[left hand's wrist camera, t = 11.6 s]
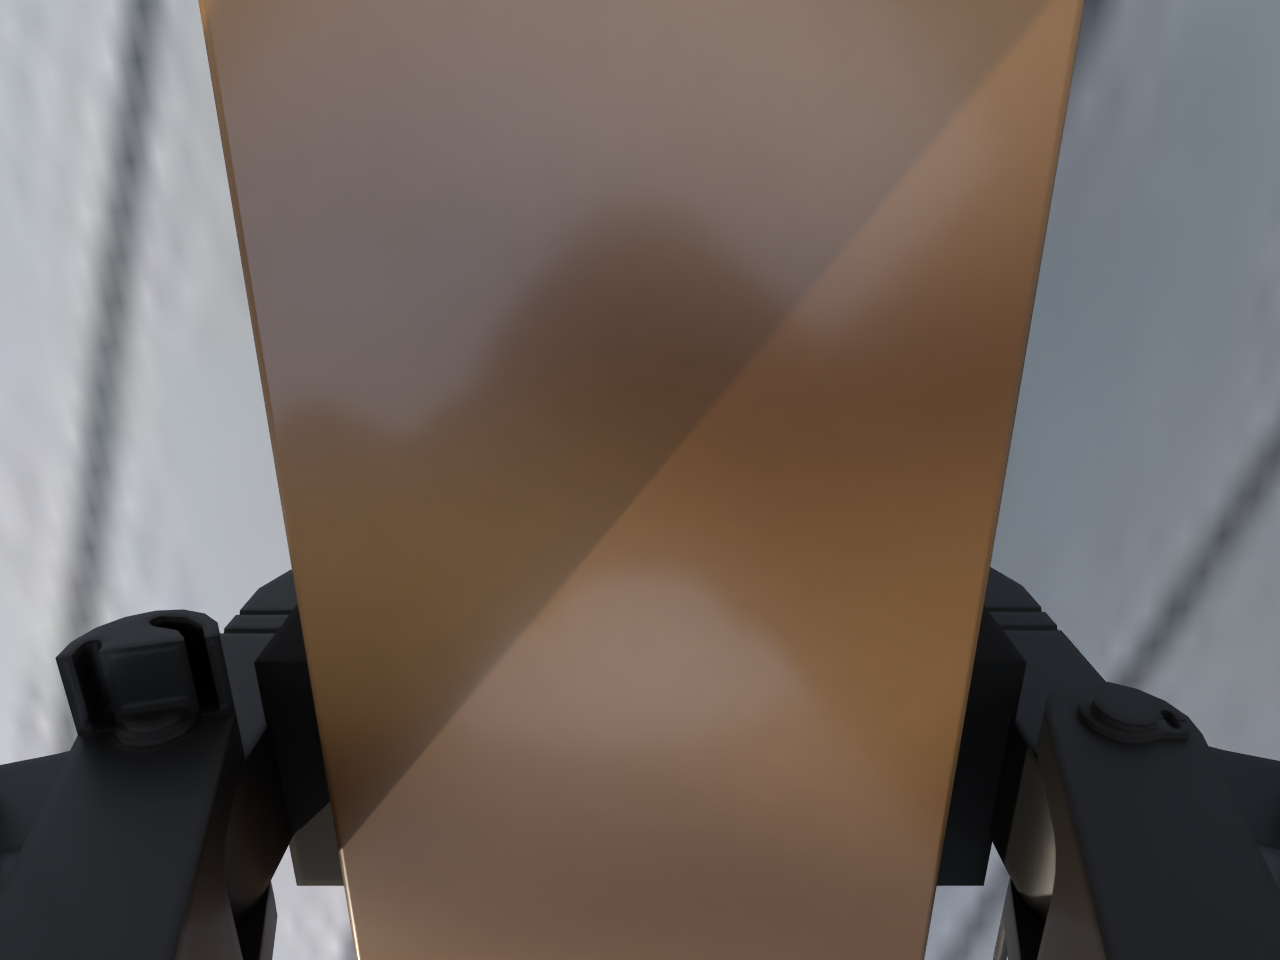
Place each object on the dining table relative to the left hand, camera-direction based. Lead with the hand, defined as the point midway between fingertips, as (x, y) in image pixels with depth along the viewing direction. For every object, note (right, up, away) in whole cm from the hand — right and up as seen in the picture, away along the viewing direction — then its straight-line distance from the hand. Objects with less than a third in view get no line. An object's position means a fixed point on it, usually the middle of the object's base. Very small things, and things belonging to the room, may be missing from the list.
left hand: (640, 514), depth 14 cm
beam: (0, -29, +12) cm, 31 cm away
